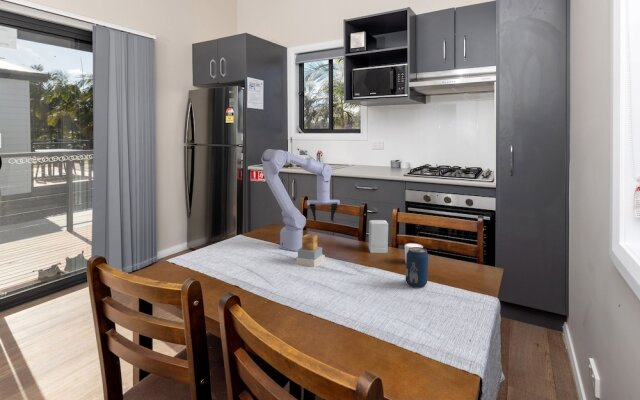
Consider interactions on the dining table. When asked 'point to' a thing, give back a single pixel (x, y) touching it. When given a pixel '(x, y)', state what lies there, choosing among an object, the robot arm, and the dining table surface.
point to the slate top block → (310, 253)
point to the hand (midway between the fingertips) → (323, 220)
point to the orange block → (309, 242)
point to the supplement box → (378, 236)
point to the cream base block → (310, 261)
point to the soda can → (417, 267)
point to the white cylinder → (410, 247)
